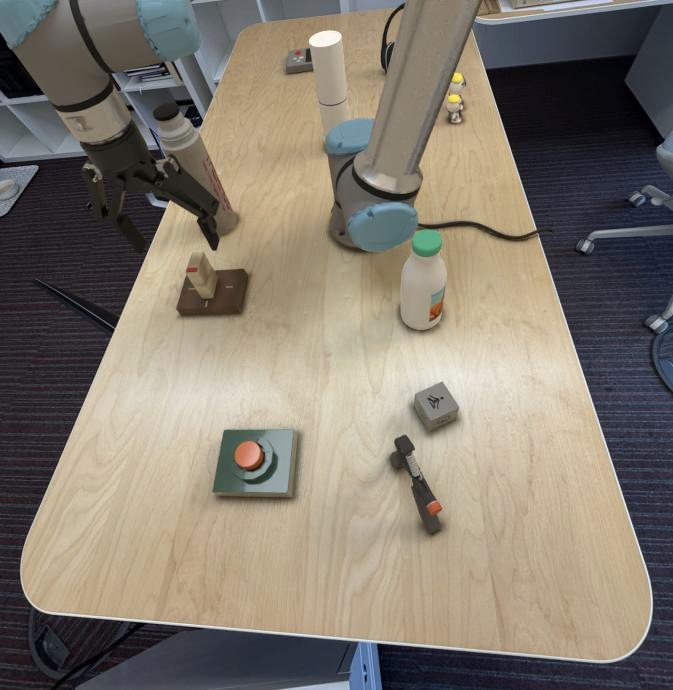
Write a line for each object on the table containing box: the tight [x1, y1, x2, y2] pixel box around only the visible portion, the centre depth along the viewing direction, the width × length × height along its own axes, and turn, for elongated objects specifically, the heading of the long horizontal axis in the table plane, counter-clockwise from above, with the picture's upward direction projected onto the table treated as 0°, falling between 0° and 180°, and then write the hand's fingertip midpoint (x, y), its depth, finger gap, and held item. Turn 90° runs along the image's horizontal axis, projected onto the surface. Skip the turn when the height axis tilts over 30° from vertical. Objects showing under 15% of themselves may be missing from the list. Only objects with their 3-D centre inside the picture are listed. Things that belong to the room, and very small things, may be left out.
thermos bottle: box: [152, 102, 237, 236], centre depth 88 cm, size 8×8×28 cm
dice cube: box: [413, 381, 460, 432], centre depth 67 cm, size 5×5×5 cm
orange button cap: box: [235, 441, 264, 470], centre depth 63 cm, size 4×4×2 cm
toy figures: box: [446, 72, 467, 124], centre depth 108 cm, size 12×4×8 cm, turn 169°
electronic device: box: [286, 47, 314, 75], centre depth 134 cm, size 10×2×15 cm
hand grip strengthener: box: [389, 434, 443, 536], centre depth 56 cm, size 2×12×15 cm, turn 24°
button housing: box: [211, 429, 299, 498], centre depth 66 cm, size 12×10×5 cm
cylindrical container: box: [308, 30, 351, 145], centre depth 99 cm, size 7×7×25 cm
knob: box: [185, 250, 218, 299], centre depth 83 cm, size 6×2×8 cm, turn 177°
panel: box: [175, 268, 248, 317], centre depth 87 cm, size 13×10×3 cm
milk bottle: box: [400, 228, 448, 331], centre depth 71 cm, size 8×8×20 cm
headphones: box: [380, 1, 406, 74], centre depth 115 cm, size 20×7×18 cm, turn 54°
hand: (179, 246), depth 71 cm, fingers open, 13 cm apart
